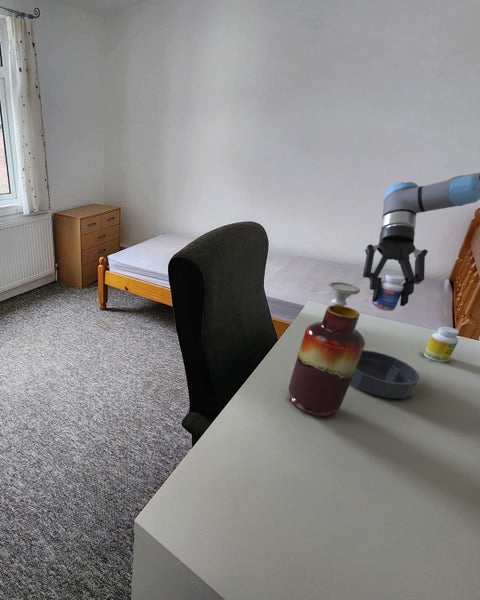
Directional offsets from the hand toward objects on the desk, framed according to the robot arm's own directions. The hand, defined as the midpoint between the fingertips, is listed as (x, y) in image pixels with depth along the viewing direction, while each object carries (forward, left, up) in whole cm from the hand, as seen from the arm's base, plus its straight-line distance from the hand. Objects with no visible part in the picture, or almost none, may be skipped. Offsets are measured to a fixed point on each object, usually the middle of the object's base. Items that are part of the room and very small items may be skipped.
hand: (389, 301), depth 94 cm
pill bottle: (-2, -3, -4) cm, 5 cm away
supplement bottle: (-19, +1, -18) cm, 27 cm away
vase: (+29, +21, -18) cm, 40 cm away
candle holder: (+9, -6, -18) cm, 21 cm away
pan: (+7, +12, -18) cm, 23 cm away
